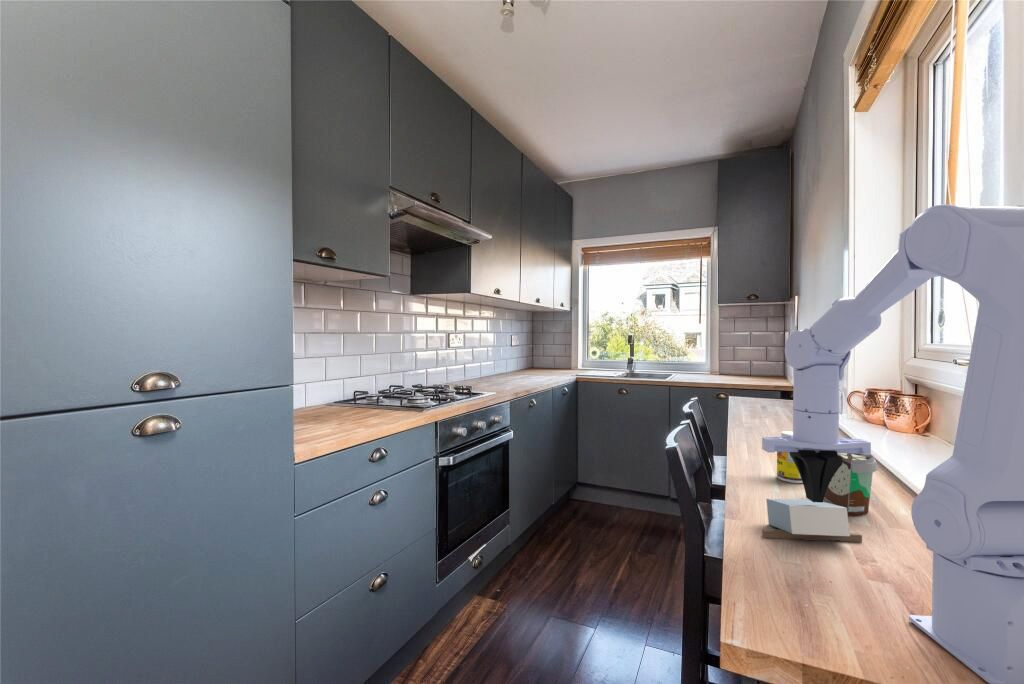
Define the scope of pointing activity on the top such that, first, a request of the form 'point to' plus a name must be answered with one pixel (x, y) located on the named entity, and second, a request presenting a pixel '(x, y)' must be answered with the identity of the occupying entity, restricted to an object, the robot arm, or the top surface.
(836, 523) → the block
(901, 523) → the top surface
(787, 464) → the supplement bottle
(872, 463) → the food container
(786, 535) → the batten
